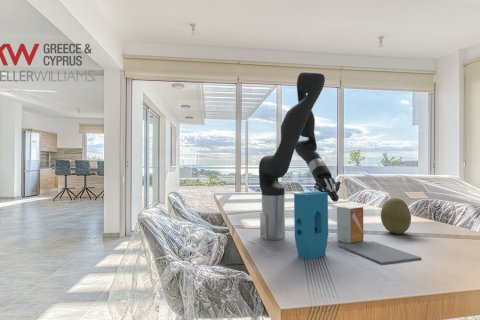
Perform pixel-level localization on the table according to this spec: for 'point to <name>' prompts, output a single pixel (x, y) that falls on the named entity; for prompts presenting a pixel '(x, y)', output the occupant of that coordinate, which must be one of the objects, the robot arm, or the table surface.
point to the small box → (350, 223)
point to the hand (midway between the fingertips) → (336, 200)
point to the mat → (379, 252)
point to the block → (311, 224)
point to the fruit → (396, 216)
